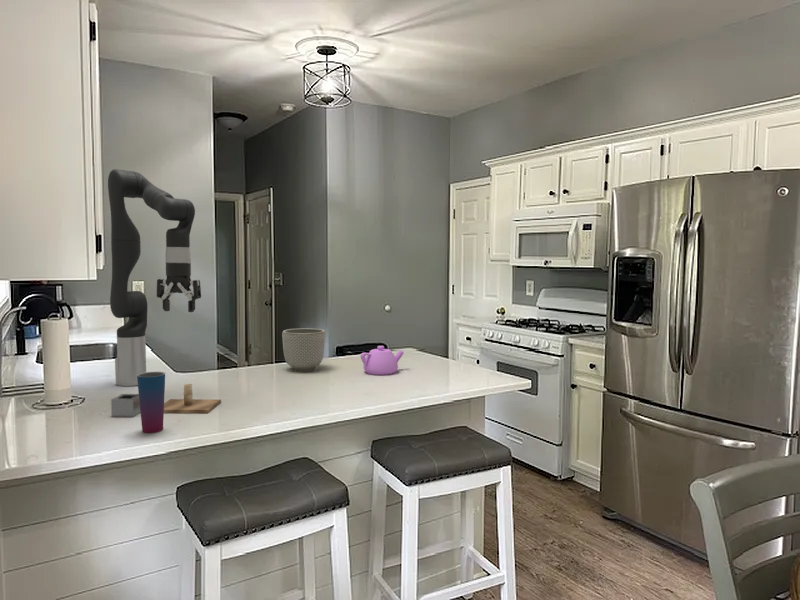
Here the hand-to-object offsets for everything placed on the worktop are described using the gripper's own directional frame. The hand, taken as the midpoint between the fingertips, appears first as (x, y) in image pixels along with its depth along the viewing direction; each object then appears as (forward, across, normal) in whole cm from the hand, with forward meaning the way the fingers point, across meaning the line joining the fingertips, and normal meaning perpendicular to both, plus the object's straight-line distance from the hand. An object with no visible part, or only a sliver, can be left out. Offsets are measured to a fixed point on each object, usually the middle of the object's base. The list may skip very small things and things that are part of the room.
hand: (179, 311), depth 181 cm
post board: (+28, +10, -12) cm, 32 cm away
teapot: (+28, +57, +52) cm, 82 cm away
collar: (+28, -4, -21) cm, 35 cm away
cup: (+28, +12, -34) cm, 46 cm away
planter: (+28, +25, +49) cm, 62 cm away
